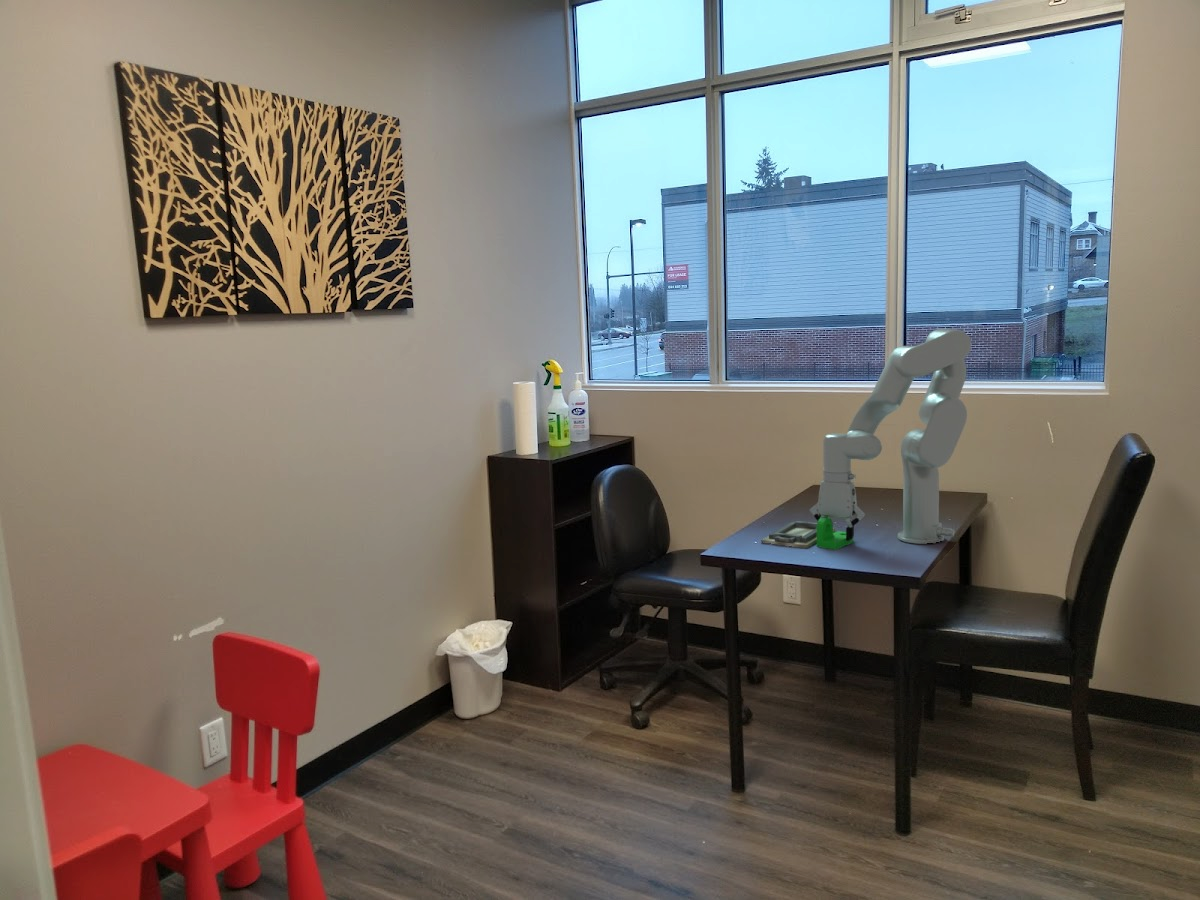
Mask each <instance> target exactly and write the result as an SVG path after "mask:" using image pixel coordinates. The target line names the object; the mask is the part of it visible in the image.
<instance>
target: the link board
mask: <svg viewBox="0 0 1200 900" xmlns="http://www.w3.org/2000/svg"><path fill="white" fill-rule="evenodd" d="M817 523H818V522H812V521H807V520H804V521H800V520H796V521H791V522H789V523H788V524H786V525H783V526H782V527H781V528H779V529H777V530H775V531H773V532H771V533H769V534H768V535H767V536H766V537H764V538H762V539H760V543H761V542H764V543H771V544H770V545H772V544H778V545H777V546H781V545H785V546H784V547H789V546H792V547H791V548H799V549H805V550H806V549H809V548H811V547H812V546H813V545H815V544H817ZM835 532H836V528H835V527H833V533H835Z"/></svg>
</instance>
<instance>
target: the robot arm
mask: <svg viewBox="0 0 1200 900" xmlns="http://www.w3.org/2000/svg"><path fill="white" fill-rule="evenodd" d="M971 349H972V340H971V337H970V336H969V335H968V334H967V333H966V332H965V331H964V330H960V329H953V328H950V329H949V328H940V329H935V330H933V331H931V332H930V333H929V334H928V335H927V337H926V340H925V341H924V342H923V343H920V344H917V345H901V346H898V347H896V348H895V349H894V350H893V351H892V352H891V354H890V355H889V357H888V359H887V361H886V362H885V363H886V364H885V365H884V368H883V369H882V372H881V374H880V376H879V377H878V380H877V381H876V383H875V387H873V390H872V392H871V393H870V395H869V396H868V398H866V400H865V401H864V403H863V404H862V405H861V407H859V409H858V411H857V412H856V413H855V415H854V417H853V418H852V421H851V423H850V425H849V427H848V429H847V431H846V433H839V432H838V433H837V432H836V433H834V432H833V433H828V434H826V435H825V436H824V437H823V443H822V444H823V445H822V446H823V447H822V448H823V449H822V451H823V454H822V455H823V457H822V458H823V459H822V461H823V464H822V465H823V469H822V472H823V473H822V474H823V480H821V481H820V486H819V490H818V491H819V492H818V501H817V502H816V504H814V505H813V506H812V507H811V508H809V512H810V513H811V514H812V516H814V517H813V518H814V519H816V521H817V522H818V520H819V519H820V518H821V517H826V518H829V517H830V518H831V517H832V518H843V519H844V520H845V523H846V524H847V527H846V528H845V529H846V530H845V532H846V540H847V541H850V540H851V539H852V538H853V539H854V537H855V536H854V535H855V525H857V524H858V523H859V522H860V521H861V520H862V519H863V518H864V517H865V516H866V513H865V512H864V511H863V510H862V509H861V508H860V507H859V506H858V504H857V503H858V502H857V494H856V493H857V492H856V486H855V483H854V481H852V480H855V479H856V477H857V476H856V474H853V471H851V469H852V468H851V467H852V460H858V461H859V460H861V461H871V460H873V459H875V458H877V457H879V455H880V454H881V452H882V449H883V445H882V443H881V440H880V439H879V438H878V437H877V436H876V435H874V434H875V432H876V431H877V429H878V427H879V425H880V424H881V423H882V422H883V420H884V419H885V418H886V417H887V416H889V415H890V414H892V413H893V412H894V411H896V410H897V409H899V408H900V407H901V406H902V404H903V402H904V400H905V397H906V395H907V394H908V391H909V389H910V387H911V385H912V384H913V382H914V379H916V378H921V377H924V376H927V375H930V374H932V377H931V380H930V383H929V385H928V387H927V389H926V391H925V395H924V397H923V399H922V402H921V404H920V406H919V410H918V416H919V418H920V420H921V422H922V423H923V424H925V425H926V427H925V429H924V428H923V429H922V428H916V429H911V430H910V431H908V432H907V433H906V434H905V435H904V437H903V439H902V440H901V445H900V456H901V463H902V473H903V474H902V476H903V478H902V479H903V480H902V481H903V486H902V487H903V489H902V492H903V493H902V494H903V495H902V497H903V500H902V502H903V503H902V507H903V508H902V509H903V510H902V513H903V514H902V517H903V518H902V521H903V523H902V525H903V526H902V530H901V531H899V532H898V533H897V539H898V540H899V541H901V542H905V543H909V544H918V545H928V544H927V543H933V544H937V543H936V542H939V543H941V542H940V541H942V542H943V541H945V537H952V538H953V537H955V530H954V529H953V528H948V527H944V526H942V522H939V521H940V520H939V517H940V515H939V513H940V510H939V509H940V506H939V505H940V475H939V468H941V467H943V466H944V465H946V464H947V463H948V462H949V461H950V459H951V457H952V455H953V454H954V452H955V449H956V447H957V444H958V442H959V441H960V440H959V439H960V437H961V436H962V433H963V431H964V428H965V426H966V424H967V419H968V418H967V416H968V411H967V407H966V405H965V403H964V402H963V401H962V399H960V396H961V393H962V391H963V387H964V385H965V382H966V378H967V377H966V376H967V366H966V361H965V358H966V357H967V356H968V355H969V354H970V352H971ZM856 514H857V516H856V517H855V518H854V517H853V516H855V515H856Z"/></svg>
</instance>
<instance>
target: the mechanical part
mask: <svg viewBox="0 0 1200 900" xmlns="http://www.w3.org/2000/svg"><path fill="white" fill-rule="evenodd" d="M816 523H817V543H816V547H818V548H825V549H830V550H838V549H841V548H843V547H845V545H846V546H847V545H851V544H853V543H854V537H853V538H852V539H851V540H850V541H847V540H846V531H841V530H837V531H834V532H833V528H834V522H833V520H832V518H831V517H828V518H826V517H821V518H820V519H819V520H818V521H817V522H816Z"/></svg>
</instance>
